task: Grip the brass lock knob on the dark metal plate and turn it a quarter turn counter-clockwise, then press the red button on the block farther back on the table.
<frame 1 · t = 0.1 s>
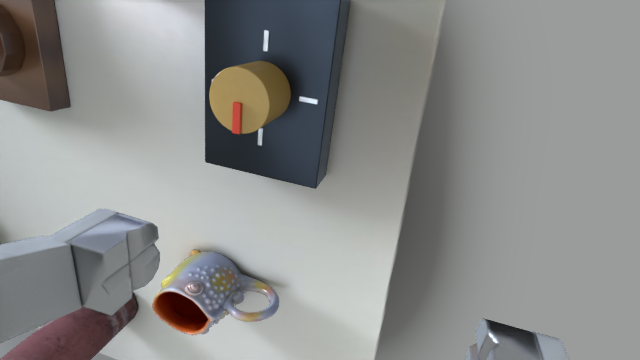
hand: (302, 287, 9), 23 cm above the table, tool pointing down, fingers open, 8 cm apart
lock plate: (278, 85, 31), on the table
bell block: (18, 36, 37), on the table
lock knob: (250, 96, 27), point 5 cm above the table, hinge at 0.0°
can: (120, 298, 48), on the table
mug: (238, 276, 41), on the table
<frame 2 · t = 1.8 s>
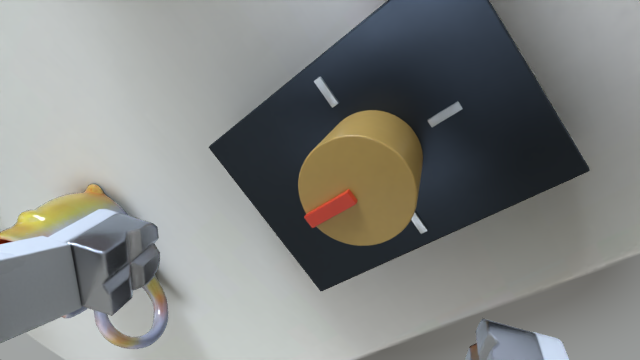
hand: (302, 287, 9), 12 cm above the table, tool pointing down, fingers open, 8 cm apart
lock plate: (382, 138, 20), on the table
lock knob: (364, 175, 15), point 5 cm above the table, hinge at 0.0°
mug: (132, 249, 29), on the table
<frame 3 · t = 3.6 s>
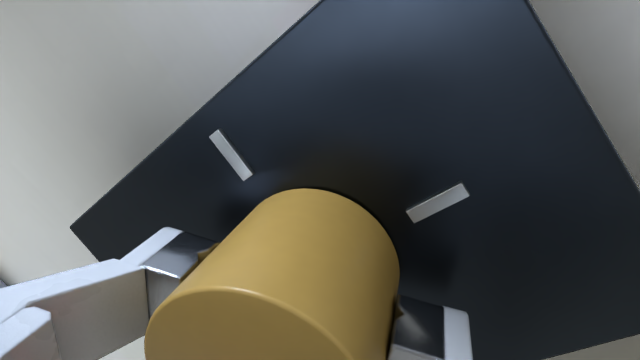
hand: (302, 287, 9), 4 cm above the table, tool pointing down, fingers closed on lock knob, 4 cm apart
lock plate: (342, 211, 13), on the table
lock knob: (288, 318, 8), point 5 cm above the table, hinge at 0.0°, touching gripper
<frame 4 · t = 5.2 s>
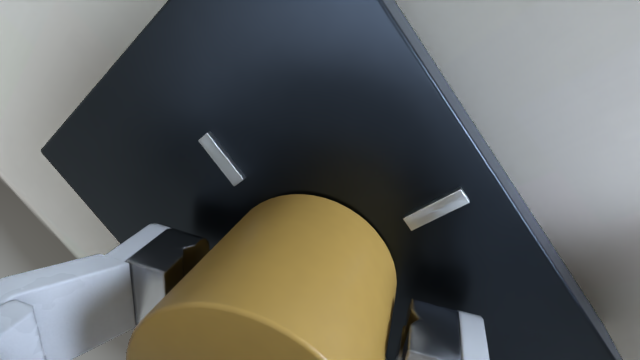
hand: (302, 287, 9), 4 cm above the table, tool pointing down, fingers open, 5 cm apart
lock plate: (338, 216, 13), on the table
lock knob: (279, 331, 8), point 5 cm above the table, hinge at 86.4°
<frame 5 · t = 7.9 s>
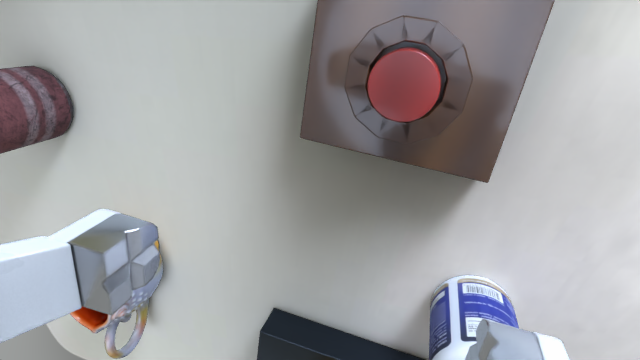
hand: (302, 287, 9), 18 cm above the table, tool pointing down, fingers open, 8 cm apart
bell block: (410, 74, 24), on the table
bell button: (404, 84, 20), point 4 cm above the table, slide at 0.1 cm
pill bottle: (470, 302, 29), on the table
can: (48, 101, 33), on the table
mug: (144, 277, 38), on the table
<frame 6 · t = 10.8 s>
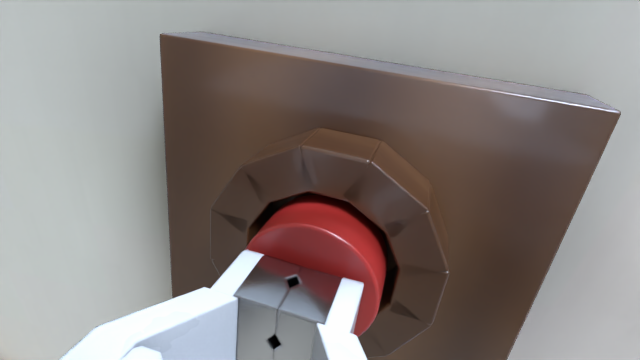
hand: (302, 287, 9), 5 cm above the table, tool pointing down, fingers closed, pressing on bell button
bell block: (349, 202, 14), on the table
bell button: (315, 269, 10), point 4 cm above the table, slide at -0.2 cm, touching gripper
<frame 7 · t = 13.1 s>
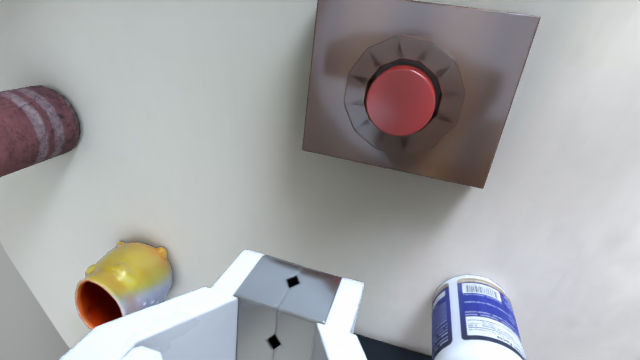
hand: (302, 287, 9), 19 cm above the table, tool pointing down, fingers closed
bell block: (406, 87, 25), on the table
bell button: (400, 100, 21), point 4 cm above the table, slide at 0.1 cm
pill bottle: (470, 301, 30), on the table
can: (55, 119, 34), on the table
mug: (153, 285, 39), on the table
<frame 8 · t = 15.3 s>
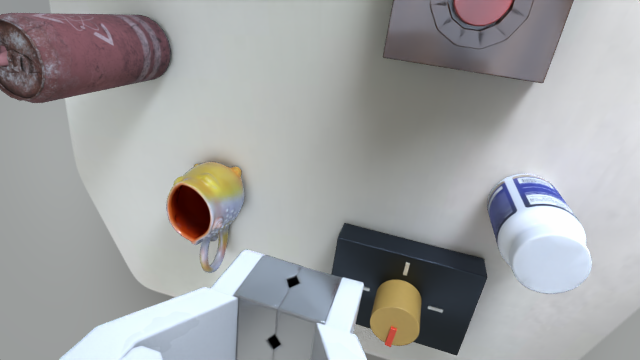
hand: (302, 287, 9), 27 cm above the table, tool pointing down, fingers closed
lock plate: (401, 279, 40), on the table
pill bottle: (521, 200, 34), on the table
lock knob: (396, 312, 36), point 5 cm above the table, hinge at 86.4°
can: (147, 48, 39), on the table
mug: (224, 206, 44), on the table
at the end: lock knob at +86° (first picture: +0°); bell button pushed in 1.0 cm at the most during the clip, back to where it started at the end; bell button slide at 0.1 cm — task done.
